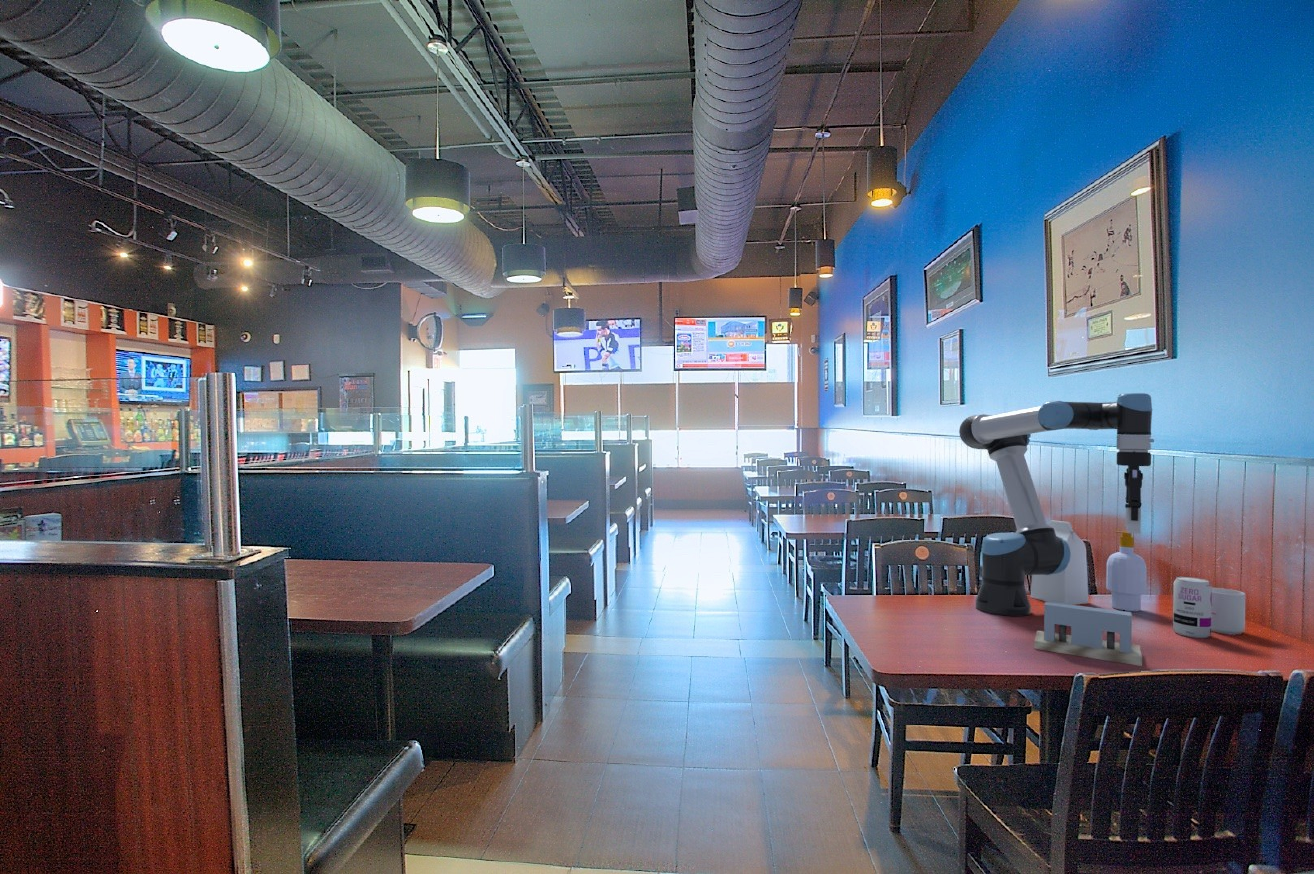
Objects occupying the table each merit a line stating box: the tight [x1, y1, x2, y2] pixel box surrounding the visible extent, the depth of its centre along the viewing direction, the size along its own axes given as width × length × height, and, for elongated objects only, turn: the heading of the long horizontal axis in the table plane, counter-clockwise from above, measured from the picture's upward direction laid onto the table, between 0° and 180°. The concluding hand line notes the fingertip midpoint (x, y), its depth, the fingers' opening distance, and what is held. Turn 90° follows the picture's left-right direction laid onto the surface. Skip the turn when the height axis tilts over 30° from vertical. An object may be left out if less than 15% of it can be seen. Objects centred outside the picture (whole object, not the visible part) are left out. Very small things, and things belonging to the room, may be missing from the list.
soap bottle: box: [1105, 530, 1148, 612], centre depth 209 cm, size 10×10×24 cm
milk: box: [1030, 519, 1090, 605], centre depth 220 cm, size 12×12×26 cm
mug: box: [1211, 587, 1246, 636], centre depth 188 cm, size 12×9×11 cm
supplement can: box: [1172, 576, 1213, 639], centre depth 182 cm, size 8×8×15 cm
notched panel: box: [1043, 601, 1133, 654], centre depth 165 cm, size 18×4×9 cm, turn 57°
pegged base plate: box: [1033, 624, 1143, 667], centre depth 166 cm, size 22×11×6 cm, turn 57°
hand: (1132, 530), depth 178 cm, fingers open, 13 cm apart
